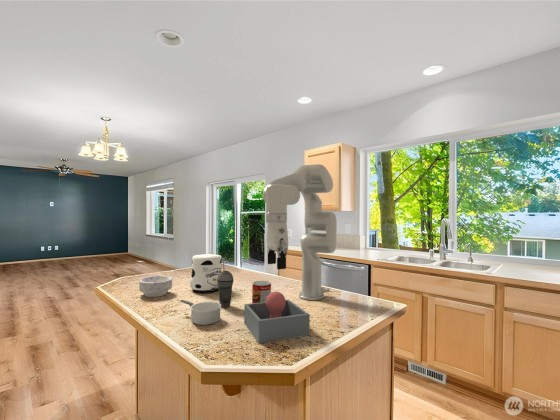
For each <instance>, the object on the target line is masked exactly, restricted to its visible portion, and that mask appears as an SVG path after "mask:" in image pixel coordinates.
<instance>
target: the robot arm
mask: <svg viewBox="0 0 560 420" xmlns="http://www.w3.org/2000/svg"><path fill="white" fill-rule="evenodd" d="M333 188H334V181H333V177H332V175H331V174H330V172H329V170H328V169H327V167H326V166H324V165H323V164H320V163H319V164H304V165H300V166H298V167H297V168H296V169H295V170H294V171H293V172H292V173H291V174H287V175H285V176H283V177H280V178H277V179H274V180H273V181H270V183H268V184H267V185H266V186H265V188H264V189H263V192H262V199H263V201H264V203H265V223H266V224H267V230H266V231H267V232H266V247H267V250H266V251H267V264H268V265H275V264H276V269H277V270H286V269H287V256H288V255H287V254H288V250H289V236H288V235H289V233H288V222H287V221H288V206H291V205H296V204H298V203H299V201H300V199H301V195H302V198H303V200H304V227H305V228H306V230H309V231H315V232H314V233H313V232H306V233H304V234H302V236H301V237H300V248H301V258H302V260H301V263H302V264H301V292H299V293H298V298H300V299H302V300H306V301H320V300H323V299H324V298H325V293H330V292H331V289H330V288H329V287H322V259H321V258H320V256H319V253H320V254H333V253H334V252H336V249H337V248H336V247H337V229H338V228H337V227H338V225H337V224H338V223H337V217H336V214H335V212H332V211H323V201H322V199H321V198H320V196H319V195H318V194H326V193H330V192H332V190H333ZM316 231H321V232H325V233H317V232H316Z"/></svg>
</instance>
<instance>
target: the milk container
mask: <svg viewBox="0 0 560 420" xmlns="http://www.w3.org/2000/svg"><path fill="white" fill-rule="evenodd" d="M222 270H223V259H222V255H220V254H216V253H215V254H209V253H206V254H195V255H193V256H192V259H191V275H190V278H189V286H190V288H191V290H192V291H195V292H199V293H205V292H206V293H207V292H209V293H210V292H214V291H219V290H218V283H217V278H218V275H219V274H220V273H221V272H222Z"/></svg>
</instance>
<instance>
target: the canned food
mask: <svg viewBox="0 0 560 420" xmlns="http://www.w3.org/2000/svg"><path fill="white" fill-rule="evenodd" d="M251 286H252V287H251V289H252V290H251V294H252V295H251V304H252V303H261V302H266V298H267V296H268V295H269V294H270V293H271V292H272V282H271V281H268V280H256V281H253V282H252V285H251Z"/></svg>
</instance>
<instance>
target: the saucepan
mask: <svg viewBox="0 0 560 420" xmlns="http://www.w3.org/2000/svg"><path fill="white" fill-rule="evenodd" d="M179 302H180V303H183V304H186V305H189V307H190V308H189V309H191V310H190V311H191V312H190V313H191V314H190V315H191V316H190V321H191V322H192V323H194V324H196V325H201V326H207V325H211V324H212V325H213V324H215V323H216V322H217V321H219V320H220V319H221V304H220V303H219V302H216V301H202V302H196V303H194V302H191V301H188V300H186V299H180V300H179Z"/></svg>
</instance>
